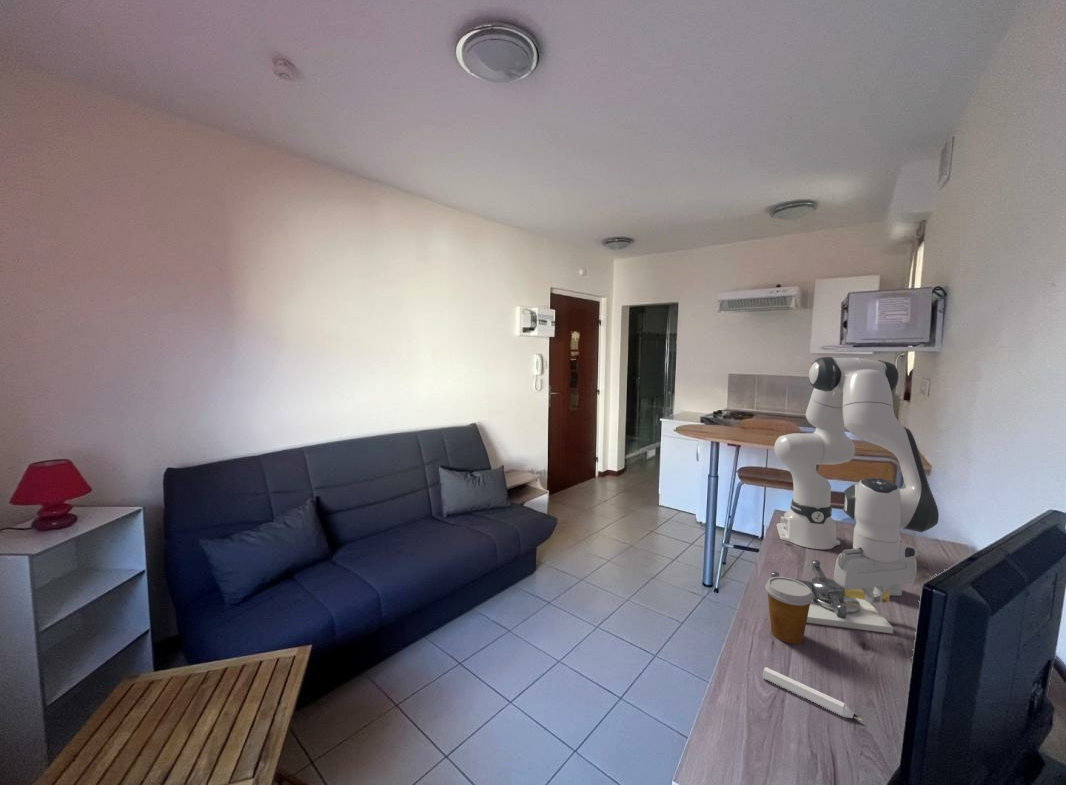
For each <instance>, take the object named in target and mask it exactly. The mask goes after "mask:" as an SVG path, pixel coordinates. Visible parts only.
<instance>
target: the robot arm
mask: <svg viewBox="0 0 1066 785" xmlns="http://www.w3.org/2000/svg"><path fill="white" fill-rule="evenodd" d="M898 370H899V369H898V368H897V366H896V364H894V363H892V362H890V361H885V360H875V359H869V358H864V357H863V358H862V357H832V356H824V357H818V358H816V359H815V360H814V361H813V362H812V363H811V365H810V368H809V370H808V371H809V372H808V380H809V381H808V382H809V384H810V385H811V386H812V388H813V390H812V392H811V395H810V398H809V402H808V406H807V408H806V410H805V418H806V420H807V422H808V423H809V425H811V426H813V427H815V430H814V432H810V433H808V432H807V433H805V432H803V433H800V432H799V433H797V432H796V433H795V432H793V433H788V434H784V435H783V434H782V435H780V436H779V437H778V438H777V439H776V440H775V442H774V445H773V446H774V447H773V448H774V449H773V450H774V454H775V457H777V459H778V460H779V461H780V462H781V463H783V464H784V465H785V466H786V468H788V470H789V472H790V474H791V476H792V484H793V486H792V488H793V494H792V495H793V498H792V500H791V502H790V509H788V510H787V511H786V512H784V514H783V516H782V515H781V516H780V518H779V519H780V520H779V521H780V522H778V523H776V528H777V531H778V532H777V533H778V535H779V538H780V539H781V540H782V541H785V542H790V543H792V544H794V545H797V546H800V547H804V548H807V549H808V548H809V549H813V550H832V549H834V548H835V546H839V545H841V541H840V540H839V539H838V538H837V528H836V526H837V525H836V521H835V520H834V518H832V514H833V513H832V512H833V506H832V505H831V501H832V500H831V498H832V496H831V494H832V485H831V483H830V482H829V480H828V479H827V478H826V477H824V476H822V475H820V474H819V472H818V470H817V466H818V465H821V466H822V465H823V466H824V465H828V466H829V465H831V466H832V465H835V466H836V465H841V464H845V463H849V462H851V461H852V460H853V458H854V456H855V453H856V446H855V444H854V442H853V440H852V439H851V438H850V437H848V436H847V434H846V432H845V429H847V431H848V432H849V433H850V434H852V435H853V436H854V437H856V438H858V439H859V440H863V441H864V442H867V443H869V444H872V445H876V446H878V447H881V448H883V449H885V450H887V451H889V452H890V453H892V454H893V455H894V456H895V457H896V460H897V461H898V463H899V467H900V470H901V475H902V479H903V482H904V486H905V487H904V488H900V487H899V486H898V485H897V484H896V483H894V482H892V481H890V480H888V479H884V478H880V477H879V478H877V477H867V478H866V477H865V478H863V479H860V480H859V481H858V484H851V485H850V486H848V487H847V488H846V489H845V490H843V493H844V500H843V508H842V511H843V512H844V513H845V514H846V515H847V516H848V517H849V519H850V518H851V519H852V520H853V521H855V525H854V528H853V539H852V548H850V549H849V548H848V549H843V550H842V552H840V553H839V554H838V556H837V558H836V561H835V567H834V572H833V580H834V581H835V583H836V584H837V585H839V586H841V587H842V588H844V589H846V590H854V589H859V590H863V591H864V593H865V600H866V601H867V602H868V603H870V604H871V605H872V604H878V603H881V602H882V596H883V594H884V593H885V591H886V590H887V586H889V585H897V584H902V585H905V584H906V585H907V584H912V583H913V582H915V579H916V576H917V570H918V569H917V568H918V567H917V565H918V564H917V561H918V560H917V558H916V557H917V556H918V553H919V551H918V548H917V547H915V546H913V545H910V544H908V543H906V542H903V541H901V535H900V528H902V529H904V530H908V531H909V530H910V531H914V532H918V533H923V532H926V531H928V530H931V529H932V528H934V527H935V526H937V525H938V523H939V519H940V518H939V515H940V512H939V507H938V505H937V502H936V499H935V497H934V495H933V493H932V490H931V487H930V484H929V481H928V478H927V474H926V471H925V467H924V464H923V461H922V458H921V455H920V451H919V448H918V445H917V443H916V439H915V437H914V435H913V433H912V430H910V429H909V428H907V427H906V426H903V425H902V424H901V423H900V422H899V420H898V419H897V417H896V415H895V410H894V401H893V399H894V398H893V393H892V392H893V391H894V390H895V389H896V387H897V386H898V383H899V371H898ZM874 587H875V588H874ZM872 591H873V593H872Z"/></svg>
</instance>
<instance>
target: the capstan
mask: <svg viewBox="0 0 1066 785" xmlns="http://www.w3.org/2000/svg"><path fill="white" fill-rule="evenodd" d="M811 567H812V568H811V570H812V572H813V573H814V575H815V577H812V579H811V581H807V580H803V579H802V580H801V579H796V578H793V579H794V580H797V581H799V582H802V583H803V584H805V585H806V586H808V587H809V588H810V590H811V594H812V595H813V600H814V601H815V602H816V603H818V604H820V605H821V606H823V607H825V608H828V609H830V610H833V611H835V613H836V615H837V617H839V618H842V619H845V618H846V613H856V612H858V611H859V609H860V603H859V602H858V601H857V600H856V599H855V598H857V599H863V600H865V593H864V591H863V589H854V590H846V589H844V588H842V587H841V586H839V585H837V584H836V583H835V581H834V579H831V578H827V577H826V575H825V573H824V572H823V570H822V567H821V562H820V561H819V560H816V559H812V566H811ZM772 577H780V573H779V572H777V571H771V574H770V578H772ZM872 593H873V592H872ZM890 596H891V595H890V591H888V590H886V591H885V593H884V594H883V596H882V602H880V603H883V604H886V603H889V602H890Z"/></svg>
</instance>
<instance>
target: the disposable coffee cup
mask: <svg viewBox="0 0 1066 785" xmlns="http://www.w3.org/2000/svg"><path fill="white" fill-rule="evenodd" d="M794 579H795V578H790V577H785V576H779V577H772V578H771V577H770V578H769V579H767V581H766V582H767V583H765V586H764V588H765V590H766V592H767V600H768V610H769V618H770V628H771V633H772V634H771V635H773V636H774V637H775V638H776V639H777V640H779V641H782V642H783V643H786V644H793V645H798V644H801V643H802V642H804V641H803V640H804V635H805V631H806V625H807V623H806V622H807V617H808V612H809V607H810V603H811V601H812V600H813V595H812V594H811V590H810V588H809V587H808V586H806V585H805V584H803V583H802V582H799V581H797V580H798V579H797V580H794Z"/></svg>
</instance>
